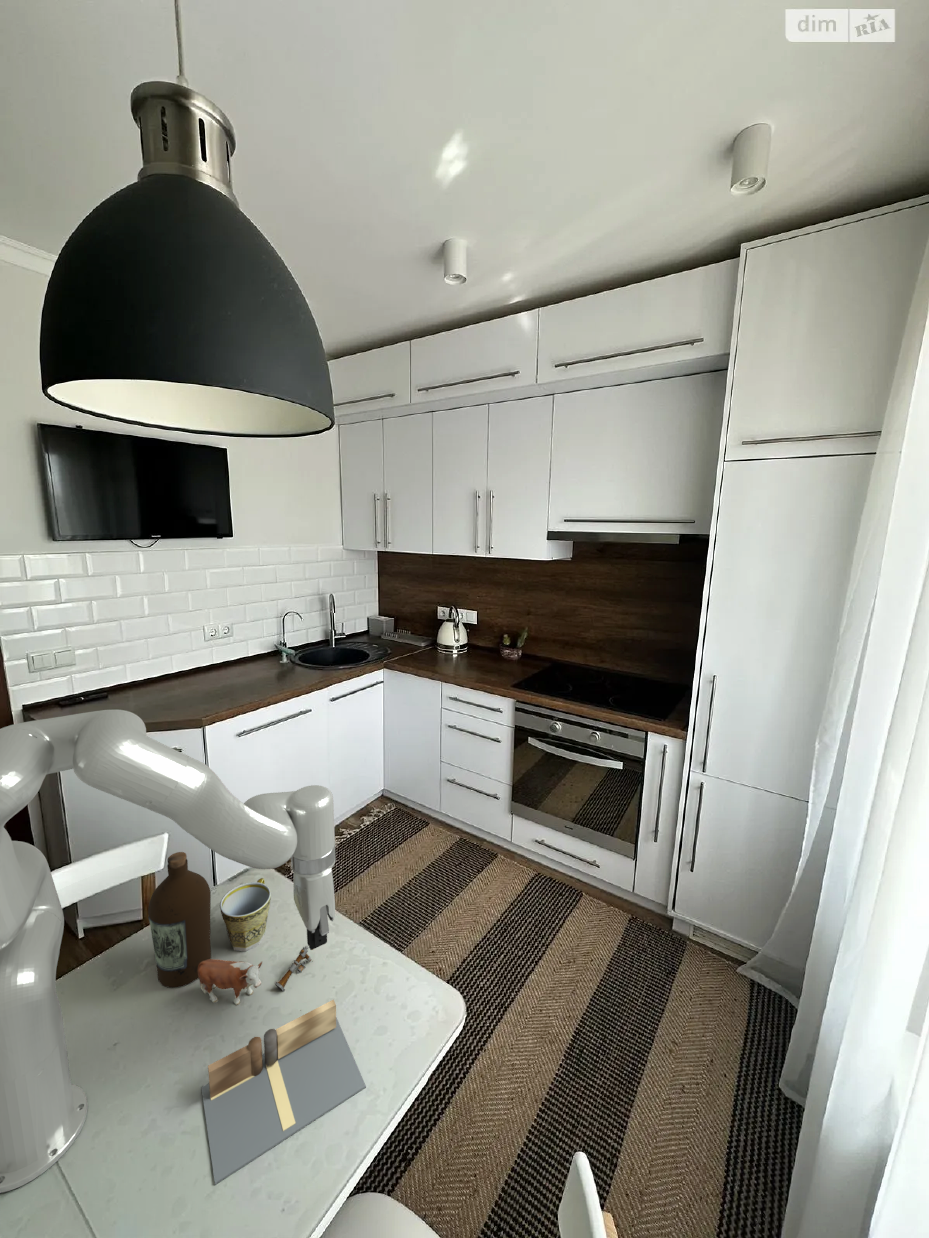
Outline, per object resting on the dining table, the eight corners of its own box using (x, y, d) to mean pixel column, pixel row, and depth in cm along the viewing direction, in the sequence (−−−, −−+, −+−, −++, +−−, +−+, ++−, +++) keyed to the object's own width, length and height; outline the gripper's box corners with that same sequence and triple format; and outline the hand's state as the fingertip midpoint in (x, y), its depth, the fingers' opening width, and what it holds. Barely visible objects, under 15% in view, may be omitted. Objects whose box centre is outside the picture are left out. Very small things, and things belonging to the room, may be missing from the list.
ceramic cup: (259, 960, 102) (257, 918, 100) (212, 956, 102) (209, 914, 100) (285, 912, 114) (284, 874, 113) (243, 909, 115) (242, 871, 113)
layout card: (215, 1184, 67) (214, 1182, 67) (201, 1088, 78) (201, 1086, 78) (365, 1087, 79) (365, 1085, 79) (335, 1016, 91) (335, 1014, 91)
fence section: (211, 1101, 76) (209, 1072, 75) (209, 1088, 78) (207, 1061, 77) (263, 1071, 81) (262, 1044, 80) (261, 1060, 82) (259, 1034, 81)
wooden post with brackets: (316, 956, 102) (309, 945, 100) (288, 997, 96) (280, 987, 94) (310, 952, 103) (303, 941, 101) (282, 992, 97) (273, 982, 95)
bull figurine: (257, 1016, 90) (256, 978, 89) (193, 1000, 93) (191, 963, 91) (271, 994, 94) (270, 958, 93) (210, 979, 97) (207, 944, 96)
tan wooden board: (266, 1068, 81) (265, 1043, 80) (263, 1057, 83) (262, 1032, 82) (336, 1028, 88) (336, 1005, 87) (333, 1019, 89) (332, 996, 88)
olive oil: (178, 942, 105) (170, 837, 101) (225, 948, 104) (219, 842, 100) (141, 987, 95) (130, 872, 90) (192, 994, 94) (184, 878, 89)
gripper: (280, 840, 92) (285, 925, 95) (304, 889, 79) (309, 984, 83) (320, 827, 96) (323, 909, 99) (349, 872, 84) (351, 963, 87)
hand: (317, 943), depth 91 cm, fingers closed
